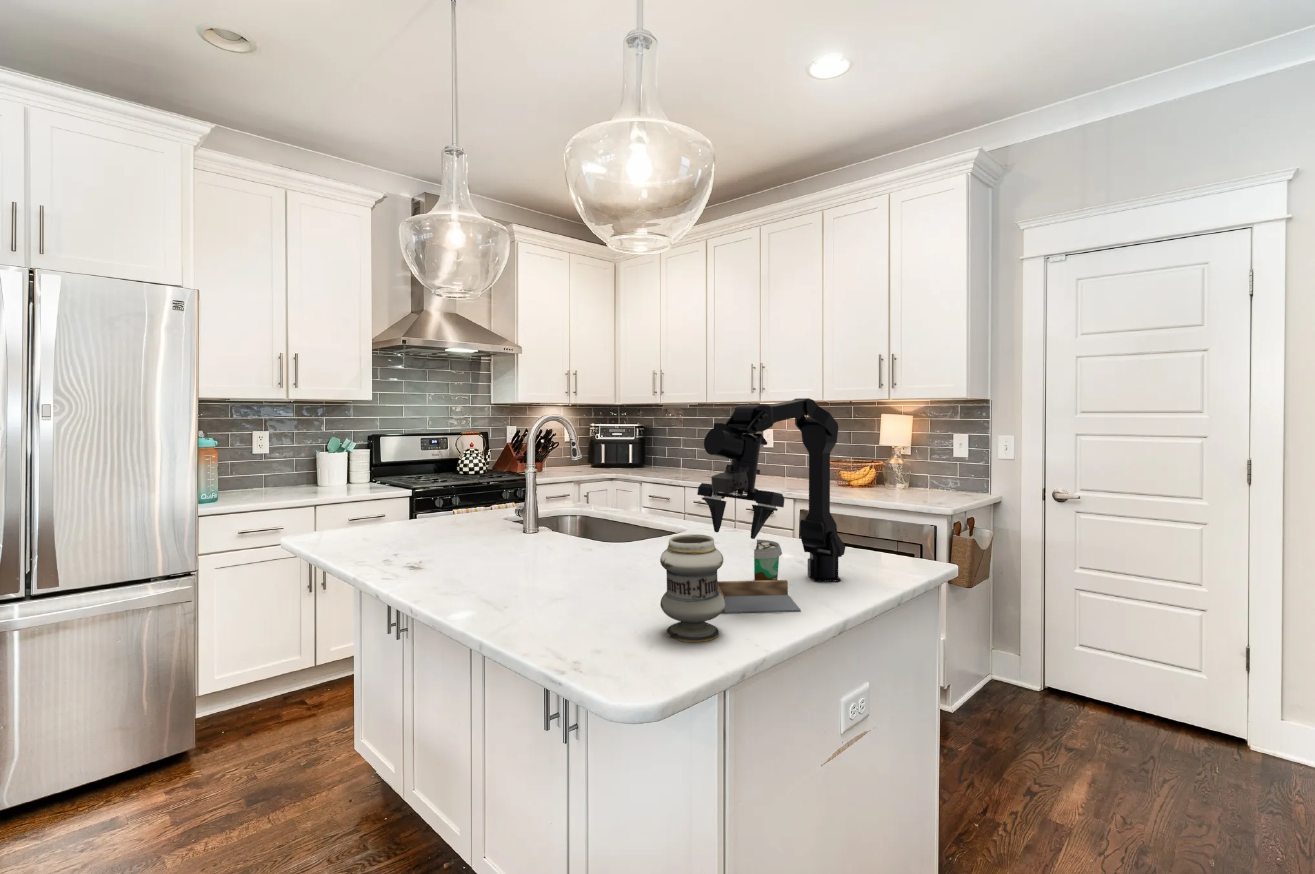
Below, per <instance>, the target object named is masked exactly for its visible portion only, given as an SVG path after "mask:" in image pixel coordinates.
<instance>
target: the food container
mask: <svg viewBox="0 0 1315 874" xmlns="http://www.w3.org/2000/svg"><path fill="white" fill-rule="evenodd" d="M782 555H783V553H782V547H781V546H780V543H779V542H777V541H773V540H768V539H767V540H766V539H756V546H755V548H753V558H754V559H753V561H754V563H753V565H754V566H753V567H754V568H753V569H754V573H753V574H754V576H753V577H754V579H753V581H760V580H779V579H778V578H779V577H778V576H779V565H780V564H779V562H780V556H782Z"/></svg>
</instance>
